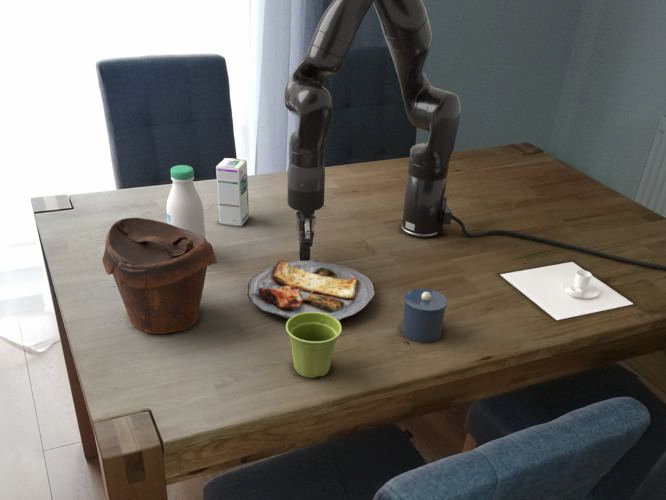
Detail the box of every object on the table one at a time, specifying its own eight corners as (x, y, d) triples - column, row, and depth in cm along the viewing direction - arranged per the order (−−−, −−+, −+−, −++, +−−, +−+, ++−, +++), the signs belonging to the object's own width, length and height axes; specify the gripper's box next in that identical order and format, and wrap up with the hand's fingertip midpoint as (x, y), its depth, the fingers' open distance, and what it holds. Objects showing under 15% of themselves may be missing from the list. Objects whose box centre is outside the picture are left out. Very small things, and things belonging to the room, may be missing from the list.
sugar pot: (436, 319, 140) (442, 281, 135) (447, 342, 133) (453, 302, 129) (396, 320, 139) (401, 281, 134) (405, 343, 132) (410, 303, 128)
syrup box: (241, 226, 170) (240, 168, 162) (218, 223, 171) (215, 164, 163) (249, 217, 175) (248, 159, 167) (226, 214, 176) (223, 156, 168)
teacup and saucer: (573, 303, 148) (578, 286, 146) (550, 285, 154) (554, 268, 152) (607, 296, 151) (612, 279, 149) (582, 279, 157) (587, 262, 155)
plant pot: (346, 360, 127) (349, 318, 122) (328, 390, 119) (330, 347, 115) (297, 348, 129) (298, 307, 124) (276, 376, 122) (276, 334, 117)
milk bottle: (213, 254, 158) (208, 166, 147) (193, 268, 152) (186, 177, 141) (184, 246, 160) (177, 159, 149) (163, 259, 155) (154, 170, 143)
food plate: (226, 308, 139) (225, 293, 137) (280, 260, 157) (281, 246, 155) (344, 341, 132) (346, 325, 130) (387, 287, 150) (389, 272, 148)
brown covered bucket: (226, 336, 131) (223, 248, 121) (113, 349, 126) (99, 257, 116) (212, 289, 145) (208, 206, 135) (110, 299, 140) (97, 213, 130)
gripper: (328, 196, 140) (324, 274, 150) (321, 171, 150) (319, 245, 160) (289, 196, 139) (289, 274, 149) (285, 171, 150) (285, 245, 160)
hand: (304, 259), depth 155 cm, fingers closed
